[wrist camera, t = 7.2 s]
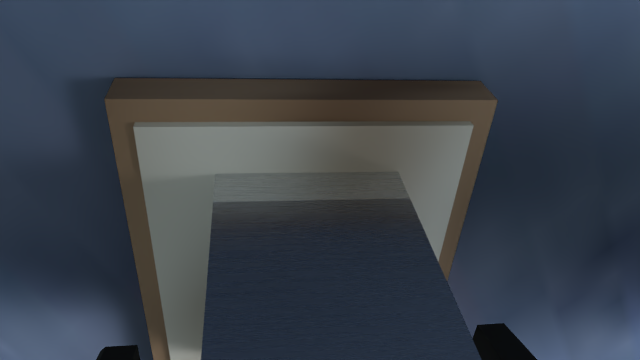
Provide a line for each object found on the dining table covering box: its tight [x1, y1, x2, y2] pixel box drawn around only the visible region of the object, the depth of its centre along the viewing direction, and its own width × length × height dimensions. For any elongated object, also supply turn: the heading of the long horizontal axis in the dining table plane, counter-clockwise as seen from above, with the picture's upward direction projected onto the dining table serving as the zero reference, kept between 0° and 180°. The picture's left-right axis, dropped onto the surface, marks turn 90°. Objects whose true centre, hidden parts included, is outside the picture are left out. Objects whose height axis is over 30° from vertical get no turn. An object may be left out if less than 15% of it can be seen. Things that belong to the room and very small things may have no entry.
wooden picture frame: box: [104, 78, 498, 360], centre depth 14 cm, size 8×10×1 cm
